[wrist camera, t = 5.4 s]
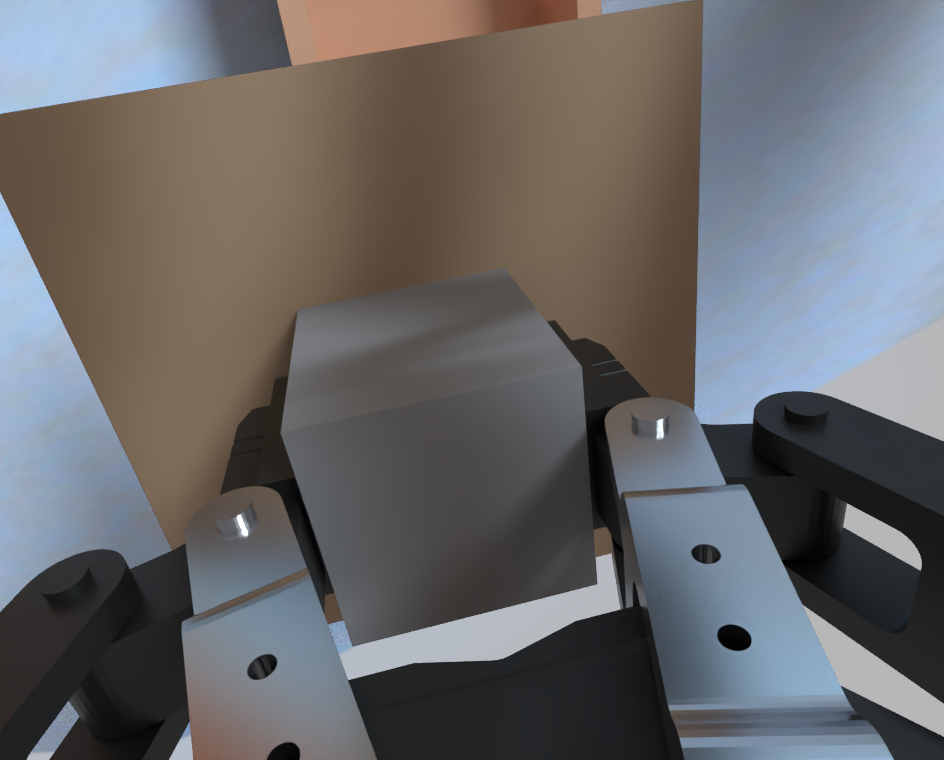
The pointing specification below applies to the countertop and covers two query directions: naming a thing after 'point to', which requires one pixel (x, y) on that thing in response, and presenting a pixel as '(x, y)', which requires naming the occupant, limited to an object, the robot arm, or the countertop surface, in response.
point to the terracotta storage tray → (409, 22)
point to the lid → (385, 288)
